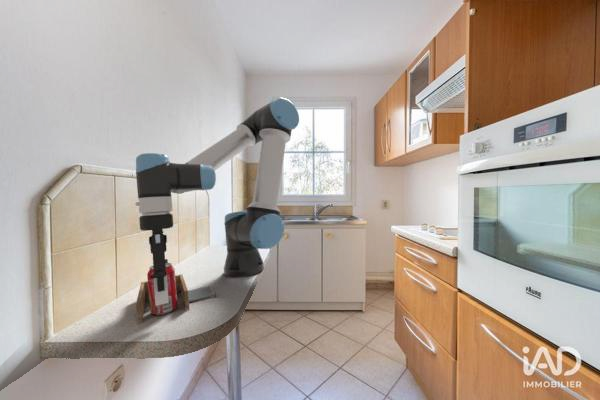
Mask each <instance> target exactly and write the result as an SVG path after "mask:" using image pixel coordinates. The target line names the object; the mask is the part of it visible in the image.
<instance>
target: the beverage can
mask: <svg viewBox="0 0 600 400" xmlns="http://www.w3.org/2000/svg"><path fill="white" fill-rule="evenodd" d="M165 265H166V271H167V274H166V275H167V285H168V300H169V303H166V304H162V305H157V306H156V305H155V291H154V278H153V279H150V275H153V273H154V269H153V265H150V267H149V270H148V272H147V274H146V276H147V281H148V289H149V298H148V299H149V310H150V314H153V315H157V316H161V315H165V314H168V313H170V312H173V311H174V310H175V309H176V308H177V307H178V295H177V293H178V292H176V280H175V275H176V271H175V270H176V269H175V266H173V265H172V263H170V262H168V263H165ZM161 271H162V270H161Z"/></svg>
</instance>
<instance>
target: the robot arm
mask: <svg viewBox="0 0 600 400" xmlns="http://www.w3.org/2000/svg"><path fill="white" fill-rule="evenodd" d="M299 124H300V115H299V112H298V109H297V107H296V105H295V104H294V103H293V102H291V101H290V100H289V99H287V98H284V97H279V98H276V99H273V100H271V101H270V102H269V103H268V104H266V105H264V106H262V107H260V108H259V109H257V110H255V111H254V112H253V113H252V114H250V116H248V117H247V118H246V119H244V121H242V122H241V123H240V124H238V125H237V126H236V130H234V131H232V132H230V133H229V134H227V135H226V136H225V137H223V138H222V139H220V140H218V141H216V143H213V144H212V145H211V146H209V147H208V148H207V149H205V150H203V151H202V152H200V153H199V154H197V155H196V156H194V157H192V158H191V159H190V160H188V161H186V162H185V163H174V162H171V161H170V159H169V156H168V155H166V154H163V153H155V152H154V153H153V152H147V153H141V154H139V155H137V156H136V157H135V170H136V171H135V177H136V178H135V179H136V189H137V199H138V201H136V202H135V207H138V213H139V214H141V215H140V216H139V217H138V219H139V220H138V221H139V230H141V231H145V232H146V231H147V232H148V231H151V236H148V243H149V246H150V254H152V264H153V265H152V266H153V269H154V273H153V275H150V279H153V278H154V291H155V305H156V306H157V305H162V304H166V303H169V300H168V285H167V275H166V274H167V271H166V265H165V263H169V261H168V258H166V254H165V253H166V252H167V243H168V237H167V234H164V230H166V229H170V228H171V229H172V228H173V227H174V215H173V214H172V213H171V212H173V209H174V208H173V199H172V197H173V196H172V194H177V195H178V194H184V193H188V192H193V191H208V190H212V189H213V188H215V185H216V182H217V181H216V180H217V179H216V178H217V177H216V170H218V169H219V168H221V167H222V166H223V165H224V164H226V163H227V162H229V161H230V160H231V159H233V158H234V157H235V156H237V155H238V154H240V153H241V152H243V150H245V149H246V148H248V147H253V146H255V145H256V144H258V143H260V142H261V147H260V152H259V153H260V154H259V159H258V160H259V161H258V164H257V165H258V166H257V173H256V178H255V184H254V188H253V189H254V190H253V196H252V202H251V203H250V204H248V205H247V207H246V210H240V211H239V210H238V211H233V212H229V213H227V214H225V216H224V223H223V224H224V230H225V242H226V252H227V253H226V258H225V262H224V266H223V273H224V276H225V277H230V278H239V277H240V278H241V277H242V278H243V277H249V276H253V275H256V274H259V273H261V272H263V271H264V270H265V265H264V260H263V258H262V256H261V254H260V251H259V249H260V250H264V249H265V250H267V249H272V248H274V247H276V246H277V245H278V244H280V242H281V240H282V239H283V237H284V234H285V223H284V222H283V219H282V218H281V217H280V215H281V209H279V208H278V200H279V192H280V186H281V178H282V172H283V171H282V170H283V165H284V164H283V163H284V158H285V151H286V144H287V143H289V142H290V140H291V138H292V137H291V136H292V132H293V130H294V129H296V128H297V127H298V125H299ZM161 270H162V271H161Z"/></svg>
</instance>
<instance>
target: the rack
mask: <svg viewBox="0 0 600 400" xmlns="http://www.w3.org/2000/svg"><path fill="white" fill-rule="evenodd" d="M175 280H176V292H177V293H178V292H180V293H181V298H182V301H183V304H185V305H184V308H186V309H185V311H189V310H190V303H189V300H188V291H189V290H188V287H187V284H186V281H185V279H184V275H183V274H182V273H181V274H175ZM138 290H139V291H138V295H137V298H136V314H137V315H136V316H137V324H142V323H143V319H144V313H145V306H146V305H145V304H146V300H148V299H149V289H148V280H147V281H143V282H141V281H140V287H139V289H138Z"/></svg>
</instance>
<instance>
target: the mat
mask: <svg viewBox="0 0 600 400" xmlns="http://www.w3.org/2000/svg"><path fill="white" fill-rule="evenodd" d="M214 297H216V293H215V292H214V290H213V289H212V287H211V286H210V285H206V286H203V287H198V288H195V289H190V290H188V300H189V304H191V303H190V302H192V303H195V302H199V301H203V300H206V299H209V298H211V299H212V298H214ZM198 300H199V301H198ZM194 301H195V302H194Z"/></svg>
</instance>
